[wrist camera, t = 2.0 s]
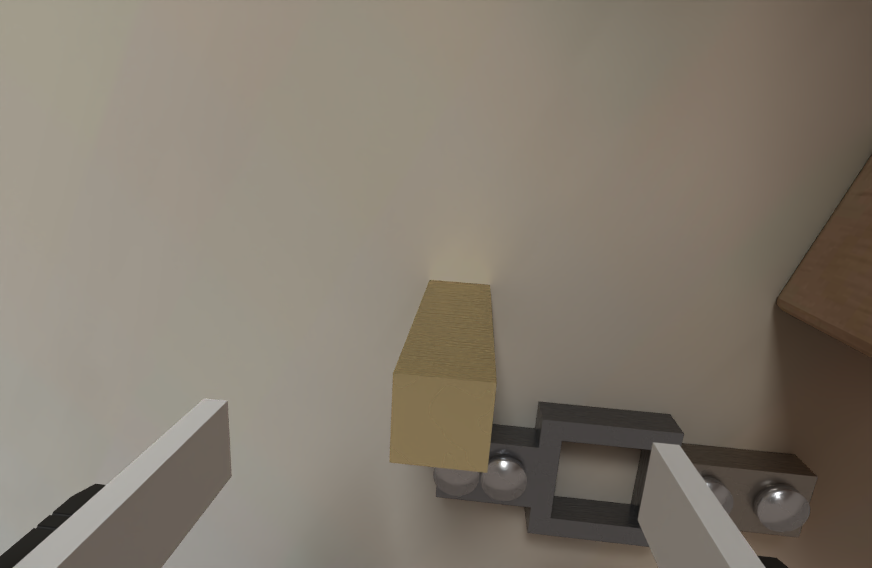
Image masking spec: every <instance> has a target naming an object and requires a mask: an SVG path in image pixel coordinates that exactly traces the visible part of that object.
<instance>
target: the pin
mask: <svg viewBox="0 0 872 568" xmlns="http://www.w3.org/2000/svg"><path fill="white" fill-rule="evenodd" d="M496 384H497V382H496V368H495V353H494V338H493V323H492V308H491V293H490V285H484V284H471V283H459V282H447V281H434V280H430V281H429V283H428V286H427V288H426V291H425V293H424V296H423V298H422V301H421V303H420V306H419V309H418V311H417V314H416V316H415V319H414V321H413V324H412V326H411V329H410V332H409V334H408V337H407V339H406V342H405V344H404V347H403V349H402V352H401V354H400V357H399V360H398V362H397V365H396V367H395V370H394V372H393V388H392V413H391V438H390V462H391V463H400V464H410V465H419V466H428V467H437V468H447V469H456V470H465V471H474V472H484V473H487V471H488V461H489V451H490V442H491V432H492V422H493V413H494V403H495V393H496Z"/></svg>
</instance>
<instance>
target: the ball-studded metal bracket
mask: <svg viewBox="0 0 872 568" xmlns="http://www.w3.org/2000/svg"><path fill="white" fill-rule="evenodd" d="M683 436H684V433H683V432H682V430H681V429H680V427H679V426H678V425H677V423H676V422H675V420H674V419H673V418H672V416H671V415H670V414H660V413H649V412H639V411H629V410H618V409H608V408H598V407H588V406H577V405H567V404H557V403H546V402H539V403H538V410H537V418H536V426H535V428H525V427H515V426H505V425H496V424H492V432H491V442H490V451H489V461H488V471H487V473H484V472H474V471H465V470H456V469H447V468H437V467H434V481H435V483H436V485H437V488H436V497H442V498H451V499H460V500H469V501H478V502H487V503H496V504H505V505H514V506H523V507H525V516H526V524H527V532H528V533H534V534H543V535H551V536H560V537H568V538H577V539H586V540H594V541H603V542H612V543H620V544H629V545H638V546H646V547H649V545H648V542H647V540H646V538H645V536H644V533H643V531H642V529H641V527H640V524H639V522H638V515H639V510H640V505H641V500H642V495H643V490H644V485H645V480H646V475H647V470H648V465H649V460H650V455H651V450H652V445H653V442H655V443H665V444H675V445H680V447H681V448H682V449H683V451H684V452H685V454H686V455H687V457H688V458H689V459H690V461H691V462H692V464H693V465H694V467H695V468H696V469H697V471H698V472H699V474H700V475H701V477H702V478H703V479H704V481H705V482H706V484H707V485H708V487H709V488H710V489H711V491H712V492H713V494H714V495H715V496H716V498H717V499H718V501H719V502H720V504H721V505H722V506H723V508H724V509H725V511H726V512H727V514H728V515H729V516H730V518H731V519H732V521H733V522H734V524H735V525H736V526H737V528H738V529H739V531H746V532H755V533H763V534H772V535H781V536H790V537H799V535H800V532H801V529H802V525H803V524H804V523H805V522H806V520H807V519H808V517H809V514H810V505H809V503H810V500H811V497H812V494H813V491H814V487H815V484H816V481H817V478H818V477H817V476H816V475H815V474H814V473H813V472H812V471H811V470H810V469H809V468H808V467H807V466H806V465H805V464H804V463H803V462H802V461H801V460H800V459H799V458H798V457H797V456H796V455H792V454H782V453H773V452H763V451H753V450H743V449H733V448H723V447H713V446H703V445H693V444H684V443H682V440H683ZM562 441H569V442H578V443H588V444H598V445H608V446H617V447H627V448H637V449H642V451H641V456H640V461H639V466H638V471H637V476H636V481H635V486H634V491H633V496H632V501H631V505H630V504H621V503H612V502H603V501H594V500H585V499H576V498H567V497H558V496H554V490H555V484H556V477H557V470H558V463H559V457H560V450H561V443H562Z"/></svg>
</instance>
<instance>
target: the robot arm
mask: <svg viewBox="0 0 872 568" xmlns="http://www.w3.org/2000/svg"><path fill="white" fill-rule="evenodd" d="M231 476H232V475H231V456H230V437H229V418H228V401H226V400H216V399H206V398H204V399H203V400H202V401H201V402H200V403H198V404H197V405H196V406H195V407H194V408H193V409H192V410H190V411H189V412H188V413H187V414H186V415H185V416H184V417H183V418H181V419H180V420H179V421H178V422H177V423H176V424H175V425H174V426H172V427H171V428H170V429H169V430H168V431H167V432H166V433H164V434H163V435H162V436H161V437H160V438H159V439H158V440H157V441H155V442H154V443H153V444H152V445H151V446H150V447H149V448H148V449H146V450H145V451H144V452H143V453H142V454H141V455H140V456H138V457H137V458H136V459H135V460H134V461H133V462H132V463H131V464H129V465H128V466H127V467H126V468H125V469H124V470H123V471H122V472H120V473H119V474H118V475H117V476H116V477H115V478H114V479H112V480H111V481H110V482H109V483H108V484H107V485H101V484H94V485H92V486H90V487H89V488H87V489H85V490H83V491H81V492H79V493H77V494H75V495H74V496H72V497H70V498H69V499H68V500H67V501H66V502H65V503H63V504H62V505H61V506H60V507H59V508H57V509H56V510H55V511H54V512H53V514H52V515H49V516H48V517H47V518H45V519H44V520H43V521H42V522H41V523H39V524H38V526H37V528H36V529H35V528H33V529H32V530H31V531H30V532H29V533H28V534H26V535H25V536H24V537H23V538H22V539H20V540H19V541H18V542H17V543H16V544H14V545H13V546H12V547H11V548H10V549H8V550H7V551H6V552H5V553H4V554H2V555H1V556H0V568H161V567H162V566H163V565H164V563H165V562H166V561H167V560H168V558H169V557H170V556H171V554H172V553H173V552H174V550H175V549H176V548H177V547H178V545H179V544H180V543H181V541H182V540H183V539H184V537H185V536H186V535H187V534H188V532H189V531H190V530H191V528H192V527H193V526H194V524H195V523H196V522H197V521H198V519H199V518H200V517H201V515H202V514H203V513H204V511H205V510H206V509H207V508H208V506H209V505H210V504H211V502H212V501H213V500H214V498H215V497H216V496H217V494H218V493H219V492H220V491H221V489H222V488H223V487H224V485H225V484H226V483H227V481H228V480H229V479H230V478H231ZM638 522H639V524H640V527H641V529H642V531H643V533H644V536H645V538H646V540H647V542H648V545H649V547H650V549H651V551H652V554H653V556H654V558H655V561H656V563H657V565H658V567H659V568H788V567H787V566H786V565H784V564H783V563H782V562H781V561H780V560H778V559H777V558H773V557H764V556H757V555H756V553H755V552H754V551H753V549H752V548H751V546H750V545H749V543H748V542H747V541H746V539H745V538H744V536H743V535H742V534H741V532H740V531H739V529H738V528H737V526H736V525H735V524H734V522H733V521H732V519H731V518H730V516H729V515H728V514H727V512H726V511H725V509H724V508H723V506H722V505H721V504H720V502H719V501H718V499H717V498H716V496H715V495H714V494H713V492H712V491H711V489H710V488H709V487H708V485H707V484H706V482H705V481H704V479H703V478H702V477H701V475H700V474H699V472H698V471H697V469H696V468H695V467H694V465H693V464H692V462H691V461H690V459H689V458H688V457H687V455H686V454H685V452H684V451H683V449H682V448H681V447H680V445H675V444H665V443H655V442H653V445H652V450H651V455H650V460H649V465H648V470H647V475H646V480H645V485H644V490H643V495H642V500H641V505H640V510H639V515H638Z"/></svg>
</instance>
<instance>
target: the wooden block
mask: <svg viewBox="0 0 872 568" xmlns="http://www.w3.org/2000/svg"><path fill="white" fill-rule="evenodd" d="M777 305H778V306H779V307H780V309H781V310H782V311H784V312H786V313H788V314H790V315H792V316H794V317H796V318H797V319H799V320H801V321H803V322H805V323H807V324H809V325H811V326H812V327H814V328H816V329H818V330H820V331H822V332H824V333H826V334H828V335H829V336H831V337H833V338H835V339H837V340H839V341H841V342H843V343H844V344H846V345H848V346H850V347H852V348H854V349H856V350H858V351H859V352H861V353H863V354H865V355H867V356H869V357H871V358H872V155H871V157H870V158H869V160H868V161H867V163H866V164H865V166H864V167H863V169H862V170H861V172H860V173H859V175H858V176H857V178H856V179H855V181H854V182H853V184H852V185H851V187H850V188H849V190H848V192H847V193H846V195H845V196H844V198H843V199H842V201H841V202H840V204H839V205H838V207H837V208H836V210H835V211H834V213H833V214H832V216H831V217H830V219H829V220H828V222H827V223H826V225H825V226H824V228H823V229H822V231H821V233H820V234H819V236H818V237H817V239H816V240H815V242H814V243H813V245H812V246H811V248H810V249H809V251H808V252H807V254H806V255H805V257H804V258H803V260H802V261H801V263H800V264H799V266H798V267H797V269H796V270H795V272H794V274H793V275H792V277H791V278H790V280H789V281H788V283H787V284H786V286H785V287H784V289H783V290H782V292H781V293H780V295H779V296H778V298H777Z"/></svg>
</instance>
